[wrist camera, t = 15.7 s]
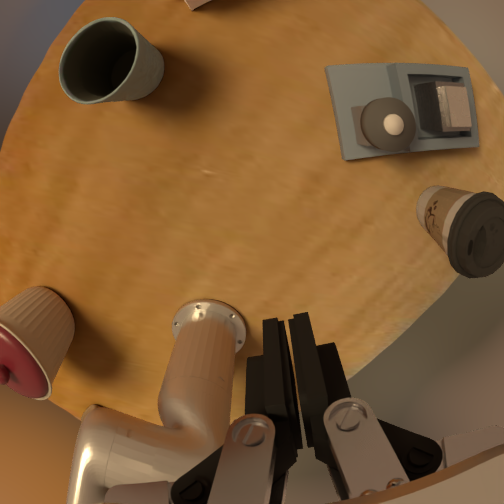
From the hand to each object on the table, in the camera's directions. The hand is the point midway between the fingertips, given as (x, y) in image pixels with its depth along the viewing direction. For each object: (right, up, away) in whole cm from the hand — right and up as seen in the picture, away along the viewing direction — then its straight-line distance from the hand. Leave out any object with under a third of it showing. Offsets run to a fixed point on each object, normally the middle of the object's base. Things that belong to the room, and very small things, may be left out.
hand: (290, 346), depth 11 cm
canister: (-42, -8, +39) cm, 58 cm away
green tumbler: (-17, +28, +23) cm, 40 cm away
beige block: (+24, +24, +23) cm, 41 cm away
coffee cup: (+27, +11, +30) cm, 42 cm away
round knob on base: (+14, +20, +24) cm, 34 cm away
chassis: (+20, +24, +24) cm, 40 cm away
